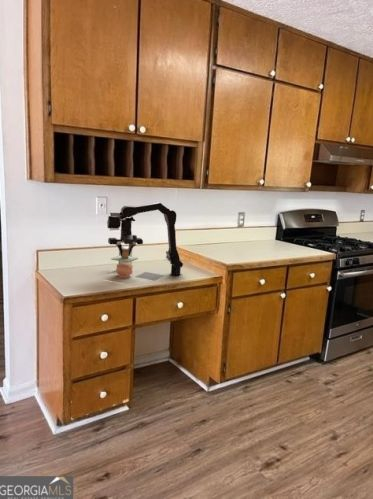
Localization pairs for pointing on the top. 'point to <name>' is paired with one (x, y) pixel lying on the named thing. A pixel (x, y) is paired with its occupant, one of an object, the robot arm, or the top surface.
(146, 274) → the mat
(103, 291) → the top surface
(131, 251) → the syrup box
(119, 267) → the bowl
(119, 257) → the lid
